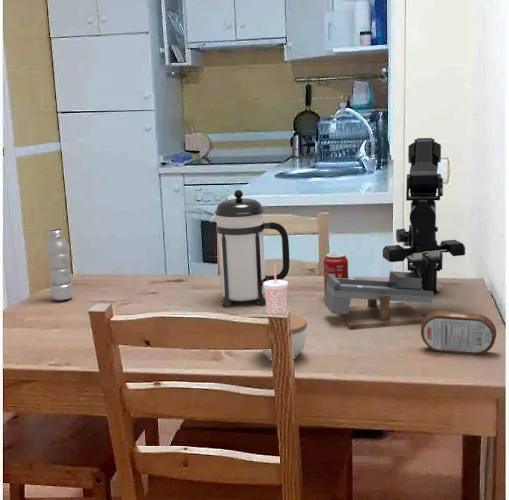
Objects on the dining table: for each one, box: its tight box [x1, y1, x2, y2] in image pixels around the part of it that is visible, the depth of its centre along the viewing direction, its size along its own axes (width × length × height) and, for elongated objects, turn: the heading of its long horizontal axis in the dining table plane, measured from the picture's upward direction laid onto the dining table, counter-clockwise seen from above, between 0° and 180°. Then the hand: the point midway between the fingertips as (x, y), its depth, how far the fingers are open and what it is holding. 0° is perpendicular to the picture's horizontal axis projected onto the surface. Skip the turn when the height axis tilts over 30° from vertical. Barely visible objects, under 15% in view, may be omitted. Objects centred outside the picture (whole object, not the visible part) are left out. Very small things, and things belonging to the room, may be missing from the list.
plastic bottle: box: [45, 228, 75, 301], centre depth 197 cm, size 6×7×20 cm
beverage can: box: [323, 252, 349, 296], centre depth 187 cm, size 6×6×12 cm
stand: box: [337, 294, 425, 330], centre depth 170 cm, size 18×14×7 cm
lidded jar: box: [261, 314, 308, 361], centre depth 148 cm, size 11×11×9 cm
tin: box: [420, 310, 497, 355], centre depth 146 cm, size 15×3×8 cm, turn 70°
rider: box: [388, 270, 422, 290], centre depth 170 cm, size 6×6×4 cm
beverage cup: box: [263, 262, 289, 314], centre depth 173 cm, size 6×6×14 cm
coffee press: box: [209, 189, 290, 308], centre depth 187 cm, size 17×16×30 cm
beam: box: [324, 274, 435, 315], centre depth 170 cm, size 24×9×8 cm, turn 97°
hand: (423, 285), depth 171 cm, fingers closed
